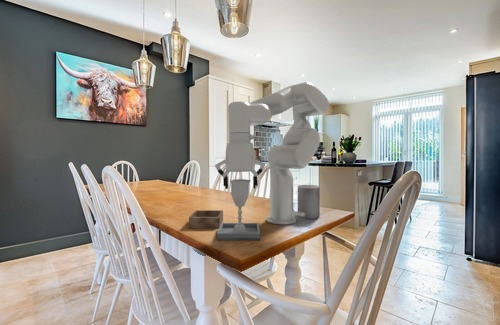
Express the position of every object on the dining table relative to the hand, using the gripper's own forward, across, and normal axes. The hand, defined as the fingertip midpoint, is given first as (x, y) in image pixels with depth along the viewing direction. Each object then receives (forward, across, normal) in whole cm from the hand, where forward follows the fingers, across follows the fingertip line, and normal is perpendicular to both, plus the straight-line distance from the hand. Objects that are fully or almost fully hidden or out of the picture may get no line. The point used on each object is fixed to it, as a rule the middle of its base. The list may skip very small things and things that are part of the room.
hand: (240, 188), depth 83 cm
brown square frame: (+16, +14, -12) cm, 24 cm away
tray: (+16, +1, +1) cm, 16 cm away
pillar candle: (+17, -29, -23) cm, 41 cm away
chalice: (+15, +1, +1) cm, 15 cm away
